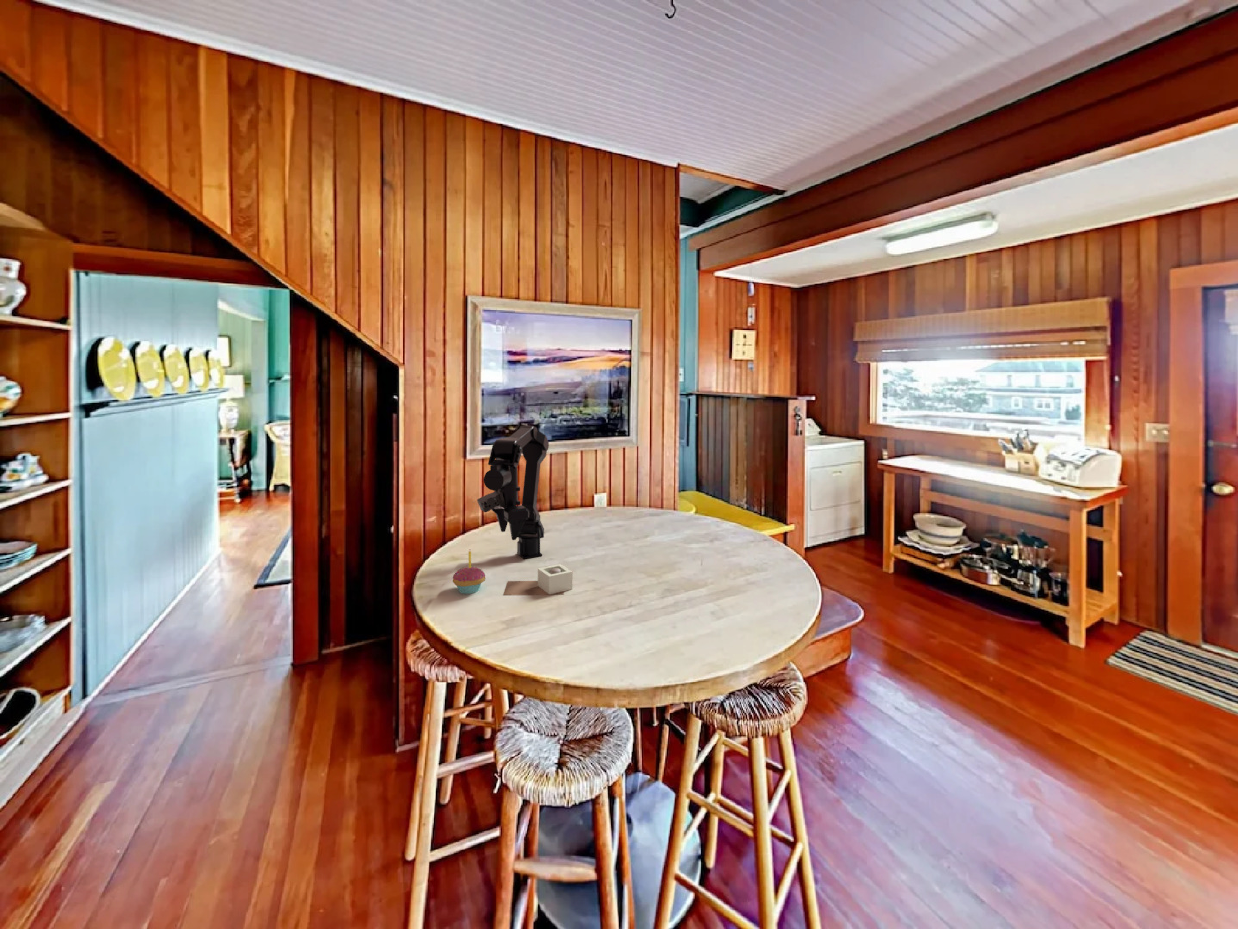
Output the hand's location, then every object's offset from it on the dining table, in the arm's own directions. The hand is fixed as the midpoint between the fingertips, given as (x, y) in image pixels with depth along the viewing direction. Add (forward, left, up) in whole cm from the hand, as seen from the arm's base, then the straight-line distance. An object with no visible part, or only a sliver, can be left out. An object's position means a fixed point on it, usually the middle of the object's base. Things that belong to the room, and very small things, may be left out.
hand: (508, 535), depth 164 cm
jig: (-2, +15, -12) cm, 19 cm away
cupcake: (+14, +8, -12) cm, 20 cm away
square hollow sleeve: (-7, +17, -11) cm, 22 cm away
